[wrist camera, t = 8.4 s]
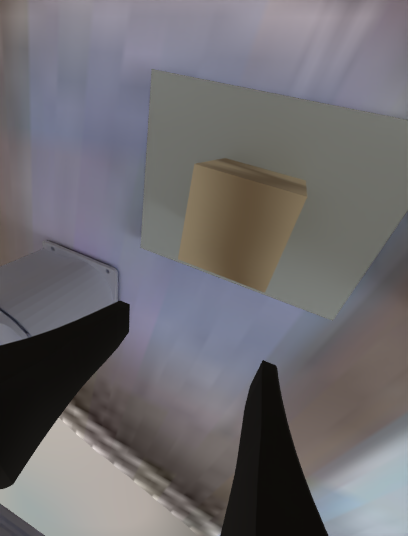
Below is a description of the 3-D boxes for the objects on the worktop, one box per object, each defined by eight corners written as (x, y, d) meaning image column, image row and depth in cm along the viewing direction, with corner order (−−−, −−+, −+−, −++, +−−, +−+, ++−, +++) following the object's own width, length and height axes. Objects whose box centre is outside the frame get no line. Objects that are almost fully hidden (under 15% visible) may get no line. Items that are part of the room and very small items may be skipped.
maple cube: (207, 231, 17) (177, 259, 13) (225, 157, 15) (194, 163, 10) (274, 254, 16) (264, 292, 12) (305, 180, 14) (307, 196, 9)
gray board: (148, 242, 21) (140, 247, 20) (161, 74, 15) (151, 69, 14) (331, 310, 18) (332, 320, 17) (447, 132, 12) (461, 131, 11)
